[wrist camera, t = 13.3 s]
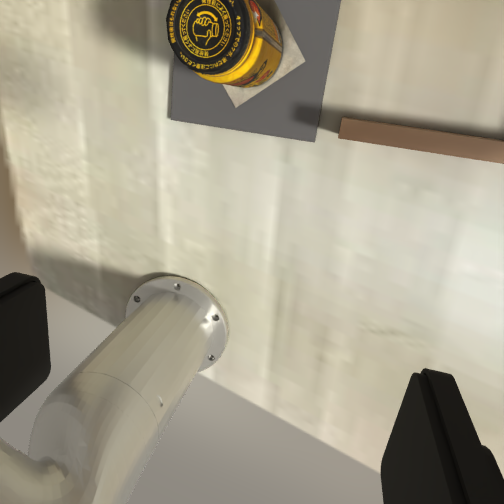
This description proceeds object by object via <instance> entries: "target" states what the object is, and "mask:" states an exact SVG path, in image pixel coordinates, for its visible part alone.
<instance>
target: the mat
mask: <svg viewBox="0 0 504 504" xmlns="http://www.w3.org/2000/svg"><path fill="white" fill-rule="evenodd" d="M275 2H276V4H277V6H278V8H279V10H280V12H281V14H282V16H283V18H284V20H285V22H286V24H287V26H288V28H289V30H290V32H291V34H292V36H293V38H294V40H295V42H296V44H297V45H298V47H299V49H300V51H301V53H302V55H303V57H304V59H305V62H304V63H302V64H301V65H299V66H298V67H296V68H295V69H293V70H292V71H290V72H289V73H288V74H286V75H284V76H283V77H281V78H280V79H278V80H277V81H275V82H274V83H272V84H271V85H270V86H268V87H267V88H265V89H264V90H262V91H261V92H259V93H258V94H256V95H254V96H253V97H251V98H250V99H248V100H247V101H245V102H244V103H242V104H241V105H239V106H238V107H236V108H235V106H234V104H233V102H232V100H231V99H230V97H229V95H228V93H227V91H226V90H225V88H224V86H223V84H218V83H213V82H211V81H208V80H205V79H203V78H202V77H200V76H199V75H198V74H196V73H195V72H194V71H193V70H191V69H188V67H187V66H186V65H184V64H183V63H182V62H181V61H180V60H179V59H178V57H177V56H176V54H175V53H174V66H173V86H172V106H171V120H175V121H181V122H188V123H194V124H200V125H207V126H213V127H220V128H226V129H232V130H239V131H245V132H251V133H258V134H264V135H270V136H277V137H283V138H289V139H296V140H302V141H308V142H315V138H316V133H317V127H318V122H319V117H320V111H321V106H322V100H323V95H324V90H325V84H326V79H327V74H328V68H329V63H330V57H331V52H332V47H333V41H334V36H335V30H336V25H337V20H338V14H339V9H340V4H341V0H275Z"/></svg>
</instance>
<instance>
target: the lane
mask: <svg viewBox="0 0 504 504" xmlns="http://www.w3.org/2000/svg"><path fill="white" fill-rule="evenodd" d="M338 138H340V139H347V140H353V141H360V142H366V143H372V144H379V145H385V146H392V147H398V148H405V149H411V150H418V151H424V152H431V153H437V154H444V155H450V156H457V157H463V158H470V159H476V160H483V161H489V162H496V163H502V164H504V140H498V139H491V138H484V137H477V136H470V135H463V134H457V133H450V132H443V131H436V130H429V129H422V128H416V127H409V126H402V125H395V124H388V123H381V122H374V121H368V120H361V119H354V118H347V117H342V121H341V125H340V130H339V135H338Z"/></svg>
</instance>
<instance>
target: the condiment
mask: <svg viewBox="0 0 504 504" xmlns="http://www.w3.org/2000/svg"><path fill="white" fill-rule="evenodd" d="M166 22H167V32H168V40H169V43H170V45H171V48H172V49H173V51H174V53H175V54H176V56H177V57H178V59H179V60H180V61H181V62H182V63H183V64H184V65H186V66H187V67H188V69H191V70H193V71H194V72H195V73H196V74H198V75H199V76H200V77H202V78H203V79H205V80H208V81H211V82H213V83H218V84H223V86H224V88H225V90H226V91H227V93H228V95H229V97H230V99H231V100H232V102H233V104H234V106H235V108H236V107H238V106H239V105H241V104H242V103H244V102H245V101H247V100H248V99H250V98H251V97H253V96H254V95H256V94H258V93H259V92H261V91H262V90H264V89H265V88H267V87H268V86H270V85H271V84H272V83H274V82H275V81H277V80H278V79H280V78H281V77H283V76H284V75H286V74H288V73H289V72H290V71H292V70H293V69H295V68H296V67H298V66H299V65H301V64H302V63H304V62H305V59H304V57H303V55H302V53H301V51H300V49H299V47H298V45H297V44H296V42H295V40H294V38H293V36H292V34H291V32H290V30H289V28H288V26H287V24H286V22H285V20H284V18H283V16H282V14H281V12H280V10H279V8H278V6H277V4H276V2H275V0H172V1H171V3H170V7H169V10H168V14H167V18H166Z"/></svg>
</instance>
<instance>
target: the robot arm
mask: <svg viewBox="0 0 504 504" xmlns="http://www.w3.org/2000/svg"><path fill="white" fill-rule="evenodd" d="M228 334H229V331H228V322H227V319H226V316H225V313H224V311H223V309H222V307H221V305H220V304H219V303H218V301H217V300H216V299H215V297H214V296H213V295H212V294H210V293H209V292H208V291H207V290H206V289H205V288H203V287H202V286H200V285H199V284H197V283H195V282H193V281H190V280H188V279H185V278H181V277H175V276H163V277H157V278H154V279H151V280H149V281H147V282H145V283H144V284H142V285H141V286H140V287H139V288H138V289H137V290H136V291H135V292H134V293H133V294H132V295H131V297H130V299H129V301H128V303H127V307H126V311H125V320H124V321H123V322H122V323H121V324H120V325H119V326H118V327H117V328H116V329H115V330H114V331H113V332H112V333H111V334H110V335H109V336H108V337H107V338H106V339H105V340H104V341H103V342H102V343H101V344H100V345H99V346H98V347H97V348H96V349H95V350H94V351H93V352H92V353H91V354H90V355H89V356H88V357H87V358H86V359H85V360H84V361H82V363H81V364H79V365H78V367H76V368H75V369H74V370H73V371H72V372H71V373H70V374H69V375H68V376H67V377H66V378H65V379H64V380H63V381H62V382H61V383H60V384H59V385H58V386H57V387H56V388H55V389H54V390H53V391H52V392H51V393H50V395H49V396H48V397H47V398H46V400H45V402H44V403H43V405H42V406H41V408H40V410H39V412H38V414H37V416H36V419H35V422H34V425H33V428H32V432H31V437H30V442H29V448H28V456H27V455H25V454H24V453H22V452H21V451H20V450H16V449H15V448H14V447H13V446H11V445H10V444H9V443H7V442H6V441H5V440H3V439H2V438H1V437H0V504H127V502H128V500H129V498H130V496H131V493H132V491H133V489H134V487H135V485H136V483H137V481H138V480H139V477H140V476H141V474H142V472H143V470H144V468H145V466H146V464H147V463H148V461H149V459H150V457H151V455H152V453H153V452H154V450H155V448H156V446H157V444H158V442H159V440H160V438H161V437H162V435H163V433H164V431H165V429H166V427H167V425H168V424H169V422H170V420H171V418H172V416H173V415H174V413H175V411H176V409H177V407H178V406H179V404H180V402H181V400H182V398H183V396H184V395H185V393H186V391H187V389H188V387H189V386H190V384H191V382H192V380H193V378H194V376H195V375H196V373H197V372H200V371H203V370H205V369H207V368H209V367H210V366H212V365H213V364H215V363H216V361H217V360H218V359H219V358H220V357H221V355H222V353H223V351H224V349H225V347H226V344H227V341H228ZM50 370H51V362H50V350H49V336H48V323H47V310H46V297H45V288H44V286H43V285H42V284H41V282H40V280H39V278H37V277H35V276H30V275H26V274H22V273H17V272H14V273H10V274H8V275H6V276H4V277H2V278H0V422H1V421H2V420H3V419H4V418H5V417H7V415H9V414H10V413H11V412H12V411H13V410H14V409H15V408H16V407H17V406H18V405H19V404H21V403H22V402H23V401H24V400H25V399H26V398H27V397H28V396H29V395H30V394H31V393H33V392H34V391H35V390H36V389H37V388H38V387H39V386H40V385H41V384H42V383H43V382H44V381H45V380H46V379H47V377H48V376H49V373H50ZM381 482H382V492H383V502H384V504H504V479H503V476H502V474H501V472H500V469H499V467H498V465H497V462H496V460H495V458H494V456H493V454H492V452H491V451H490V449H488V448H487V447H486V446H483V445H481V442H480V440H479V438H478V435H477V433H476V430H475V428H474V425H473V423H472V421H471V418H470V416H469V413H468V411H467V408H466V406H465V403H464V401H463V399H462V396H461V394H460V391H459V389H458V386H457V384H456V381H455V379H454V377H453V376H452V375H451V374H448V373H443V372H439V371H435V370H431V369H426V368H425V369H423V370H422V371H421V373H420V374H419V373H413V374H412V376H411V378H410V381H409V384H408V387H407V390H406V393H405V395H404V398H403V401H402V404H401V407H400V410H399V412H398V415H397V418H396V421H395V424H394V427H393V429H392V432H391V435H390V438H389V441H388V444H387V446H386V449H385V452H384V455H383V458H382V463H381Z"/></svg>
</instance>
